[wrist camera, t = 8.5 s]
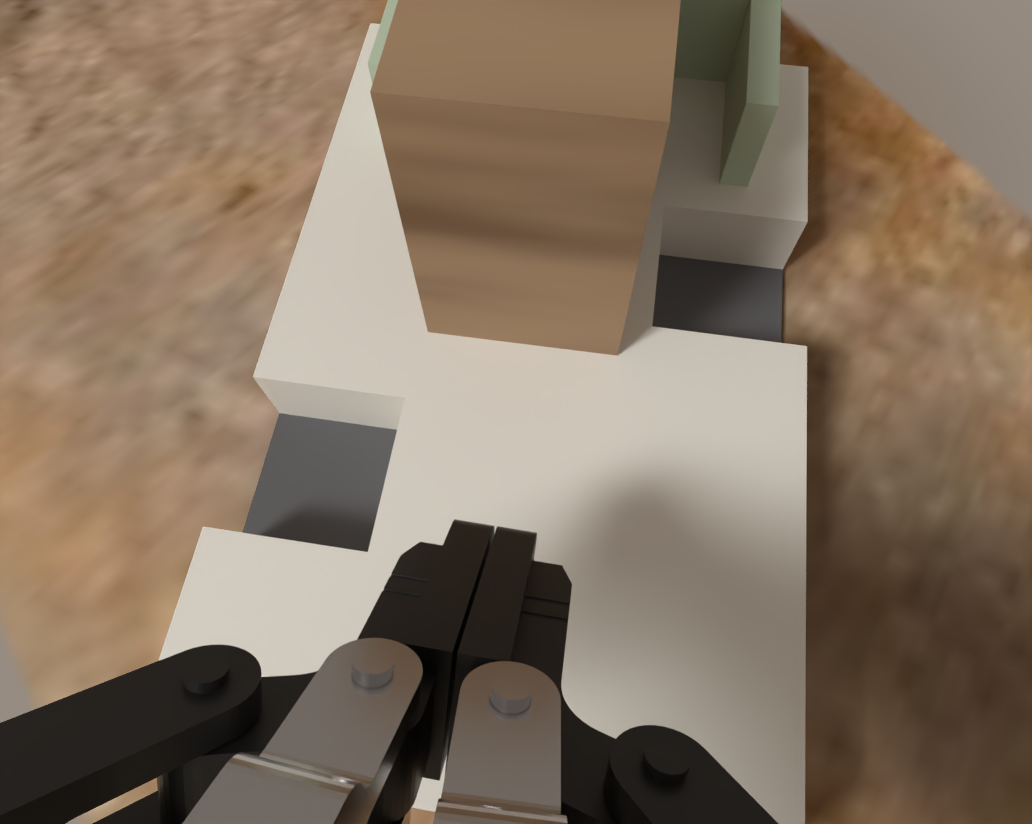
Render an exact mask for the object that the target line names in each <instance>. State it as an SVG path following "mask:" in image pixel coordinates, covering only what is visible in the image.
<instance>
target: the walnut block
mask: <svg viewBox="0 0 1032 824" xmlns="http://www.w3.org/2000/svg"><path fill="white" fill-rule="evenodd" d="M680 2H681V0H398V2H397V6H396V9H395V12H394V15H393V19H392V22H391V25H390V28H389V32H388V35H387V38H386V42H385V45H384V48H383V51H382V55H381V58H380V61H379V64H378V68H377V71H376V74H375V78H374V81H373V84H372V87H371V91H370V94H371V98H372V102H373V106H374V110H375V114H376V119H377V123H378V127H379V131H380V135H381V139H382V143H383V148H384V152H385V156H386V160H387V164H388V168H389V173H390V177H391V181H392V185H393V189H394V193H395V198H396V202H397V206H398V210H399V214H400V218H401V222H402V227H403V231H404V235H405V239H406V243H407V247H408V252H409V256H410V260H411V264H412V268H413V272H414V276H415V281H416V285H417V289H418V293H419V297H420V301H421V306H422V310H423V314H424V318H425V322H426V326H427V331H428V332H431V333H439V334H447V335H455V336H463V337H471V338H479V339H488V340H496V341H504V342H512V343H520V344H528V345H536V346H544V347H552V348H560V349H568V350H576V351H584V352H592V353H600V354H609V355H617V356H618V352H619V347H620V343H621V338H622V334H623V329H624V325H625V320H626V316H627V311H628V307H629V302H630V298H631V293H632V289H633V284H634V280H635V275H636V271H637V266H638V262H639V257H640V253H641V249H642V244H643V240H644V235H645V231H646V226H647V222H648V217H649V213H650V208H651V204H652V199H653V195H654V190H655V186H656V181H657V177H658V172H659V168H660V163H661V159H662V154H663V150H664V145H665V141H666V136H667V132H668V127H669V123H670V113H671V102H672V91H673V80H674V69H675V58H676V47H677V36H678V24H679V13H680Z"/></svg>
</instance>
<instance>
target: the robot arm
mask: <svg viewBox="0 0 1032 824" xmlns="http://www.w3.org/2000/svg"><path fill="white" fill-rule="evenodd" d="M494 532H495V534H494ZM536 540H537V533H536V532H530V531H524V530H518V529H512V528H505V527H499V526H497V528H496V531H495V527H494V526H492V525H486V524H480V523H474V522H468V521H462V520H456V519H455V520H454V521H453V523H452V525H451V527H450V529H449V532H448V534H447V536H446V539H445V541H444V543H443V545H437V544H431V543H425V542H419V543H418V544H416V545H415V546H413V547H412V548H410V549H409V550H407V551H406V552H405V553H403V554H402V555H401V556H400V558H399V559H398V561H397V563H396V565H395V567H394V569H393V571H392V574H391V576H390V577H389V579H388V581H387V583H386V585H385V587H384V590H383V591H382V592H381V594H380V596H379V598H378V600H377V602H376V604H375V606H374V608H373V610H372V612H371V614H370V616H369V617H368V619H367V621H366V623H365V625H364V627H363V629H362V631H361V633H360V635H359V637H358V639H357V640H355V641H351V642H348V643H346V644H344V645H342V646H340V647H338V648H337V649H335V650H334V651H333V652H332V653H331V654H330V655H329V656H328V657H327V658H326V660H325V661H324V663H323V664H322V666H321V667H320V668H319V670H318V671H316V672H312V673H307V674H300V675H287V676H270V677H261V667H260V664H259V662H258V660H257V659H256V658H255V657H254V656H253V655H252V654H251V653H249V652H248V651H246V650H244V649H241V648H239V647H235V646H230V645H221V644H220V645H205V646H199V647H195V648H191V649H188V650H185V651H183V652H180V653H178V654H175V655H172V656H170V657H167V658H165V659H162V660H160V661H157V662H155V663H152V664H150V665H147V666H144V667H142V668H139V669H137V670H134V671H132V672H129V673H127V674H124V675H122V676H119V677H116V678H114V679H111V680H109V681H106V682H104V683H101V684H99V685H96V686H94V687H91V688H88V689H86V690H83V691H81V692H78V693H76V694H73V695H71V696H68V697H66V698H63V699H60V700H58V701H55V702H53V703H50V704H48V705H45V706H43V707H40V708H37V709H35V710H32V711H30V712H27V713H25V714H22V715H20V716H17V717H15V718H12V719H10V720H7V721H4V722H2V723H0V824H65V823H67V822H68V821H70V820H72V819H74V818H75V817H77V816H80V815H82V814H84V813H86V812H88V811H90V810H92V809H94V808H96V807H98V806H100V805H102V804H104V803H106V802H108V801H110V800H112V799H114V798H116V797H118V796H120V795H122V794H124V793H126V792H128V791H130V790H132V789H134V788H136V787H138V786H140V785H142V784H144V783H146V782H149V781H151V780H153V779H155V778H157V785H158V791H156V792H154V793H152V794H150V795H148V796H146V797H144V798H142V799H140V800H138V801H136V802H134V803H133V804H131V805H129V806H127V807H125V808H123V809H121V810H119V811H117V812H115V813H113V814H111V815H109V816H107V817H105V818H103V819H101V820H99V821H97V822H95V823H93V824H410V819H411V807H412V806H413V804H414V802H415V800H416V797H417V794H418V790H419V787H420V784H421V781H422V777H423V778H428V779H433V780H439V781H440V778H441V774H442V770H443V767H444V763H445V760H446V768H445V778H444V784H443V789H442V795H441V798H439V799H438V802H437V807H436V811H435V817H434V822H433V824H778V823H777V822H776V821H775V820H774V819H773V818H772V816H771V815H770V814H769V813H768V812H767V811H766V810H765V809H764V808H763V807H762V806H761V805H760V804H759V803H758V802H757V801H756V800H755V799H754V798H753V797H752V796H751V795H750V794H749V793H748V792H747V791H746V790H745V789H744V788H743V787H742V786H741V785H740V784H739V783H738V782H737V781H736V780H735V779H734V778H733V777H732V776H731V775H730V774H729V773H728V772H727V771H726V770H725V769H724V768H723V767H722V766H721V765H720V764H719V763H718V761H717V760H716V759H715V758H714V757H713V756H712V755H711V754H710V753H709V752H708V751H707V750H706V749H705V748H704V747H702V746H701V745H700V744H699V743H698V742H697V741H695V740H694V739H692V738H691V737H689V736H687V735H685V734H684V733H682V732H679V731H677V730H674V729H671V728H667V727H664V726H657V725H643V726H637V727H633V728H630V729H628V730H626V731H624V732H623V733H621V734H620V735H619V736H618V737H617V738H616V739H615V738H613V737H611V736H609V735H607V734H604V733H602V732H600V731H598V730H596V729H594V728H592V727H590V726H589V725H588V724H586V723H585V722H583V721H582V720H581V719H580V718H578V717H577V716H576V715H575V714H574V713H573V711H572V710H571V709H570V708H569V706H568V705H567V703H566V701H565V699H564V697H563V694H562V689H561V681H562V672H563V662H564V653H565V644H566V635H567V626H568V617H569V608H570V599H571V590H572V583H571V581H570V579H569V577H568V575H567V574H566V572H565V570H564V568H563V566H562V565H557V564H551V563H545V562H539V561H534V555H535V548H536ZM446 756H447V758H446Z"/></svg>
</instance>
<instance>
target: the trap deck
mask: <svg viewBox="0 0 1032 824" xmlns="http://www.w3.org/2000/svg"><path fill="white" fill-rule="evenodd" d="M397 2H398V0H388V2H387V5H386V8H385V11H384V14H383V17H382V20H381V23H380V24H372V23H371V24H370V27H369V30H368V33H367V36H366V39H365V42H364V45H363V48H362V51H361V54H360V57H359V60H358V63H357V66H356V69H355V72H354V75H353V78H352V81H351V84H350V87H349V90H348V93H347V96H346V99H345V102H344V105H343V108H342V111H341V114H340V117H339V120H338V123H337V126H336V129H335V132H334V135H333V138H332V141H331V144H330V147H329V150H328V153H327V156H326V159H325V162H324V165H323V168H322V171H321V174H320V177H319V180H318V183H317V186H316V189H315V192H314V195H313V198H312V201H311V204H310V207H309V210H308V213H307V216H306V219H305V222H304V225H303V228H302V231H301V234H300V237H299V240H298V243H297V246H296V249H295V252H294V255H293V258H292V261H291V264H290V267H289V270H288V273H287V276H286V279H285V282H284V285H283V288H282V291H281V294H280V297H279V300H278V303H277V306H276V309H275V312H274V315H273V318H272V321H271V324H270V327H269V330H268V333H267V336H266V339H265V342H264V345H263V348H262V351H261V354H260V357H259V360H258V363H257V366H256V369H255V372H254V375H253V378H254V379H255V380H256V382H257V383H258V384H259V386H260V387H261V388H262V390H263V391H264V393H265V394H266V395H267V397H268V398H269V399H270V401H271V402H272V403H273V405H274V406H275V408H276V409H277V410H278V412H279V413H280V414H279V417H278V420H277V423H276V426H275V430H274V433H273V436H272V439H271V443H270V446H269V449H268V452H267V455H266V459H265V462H264V465H263V468H262V472H261V475H260V478H259V481H258V484H257V488H256V491H255V494H254V497H253V501H252V504H251V507H250V510H249V513H248V517H247V520H246V523H245V526H244V530H243V533H241V532H235V531H228V530H222V529H215V528H209V527H203V528H202V531H201V534H200V537H199V540H198V543H197V546H196V549H195V552H194V555H193V558H192V561H191V564H190V567H189V570H188V573H187V576H186V579H185V582H184V585H183V588H182V591H181V594H180V598H179V601H178V604H177V607H176V610H175V613H174V616H173V619H172V622H171V625H170V628H169V631H168V634H167V637H166V640H165V643H164V646H163V649H162V652H161V655H160V658H159V661H160V660H162V659H165V658H167V657H170V656H172V655H175V654H178V653H180V652H183V651H185V650H188V649H191V648H195V647H199V646H205V645H220V644H221V645H230V646H235V647H239V648H241V649H244V650H246V651H248V652H249V653H251V654H252V655H253V656H254V657H255V658H256V659H257V660H258V662H259V664H260V667H261V677H270V676H287V675H300V674H307V673H312V672H316V671H318V670H319V668H320V667H321V666H322V664H323V663H324V661H325V660H326V658H327V657H328V656H329V655H330V654H331V653H332V652H333V651H334V650H335V649H337V648H338V647H340V646H342V645H344V644H346V643H348V642H351V641H355V640H357V639H358V637H359V635H360V633H361V631H362V629H363V627H364V625H365V623H366V621H367V619H368V617H369V616H370V614H371V612H372V610H373V608H374V606H375V604H376V602H377V600H378V598H379V596H380V594H381V592H382V591H383V590H384V587H385V585H386V583H387V581H388V579H389V577H390V576H391V574H392V571H393V569H394V567H395V565H396V563H397V561H398V559H399V558H400V556H401V555H402V554H403V553H405V552H406V551H407V550H409V549H410V548H412V547H413V546H415V545H416V544H418V543H419V542H425V543H431V544H437V545H443V543H444V541H445V539H446V536H447V534H448V532H449V529H450V527H451V525H452V523H453V521H454V520H455V519H456V520H462V521H468V522H474V523H480V524H486V525H492V526H494V527H495V531H496V528H497V526H499V527H505V528H512V529H518V530H524V531H530V532H536V533H537V540H536V548H535V555H534V561H539V562H545V563H551V564H557V565H562V566H563V568H564V570H565V572H566V574H567V575H568V577H569V579H570V581H571V583H572V590H571V599H570V608H569V617H568V626H567V635H566V644H565V653H564V662H563V672H562V681H561V689H562V694H563V697H564V699H565V701H566V703H567V705H568V706H569V708H570V709H571V710H572V711H573V713H574V714H575V715H576V716H577V717H578V718H580V719H581V720H582V721H583V722H585V723H586V724H588V725H589V726H590V727H592V728H594V729H596V730H598V731H600V732H602V733H604V734H607V735H609V736H611V737H613V738H615V739H616V738H617V737H618V736H619V735H620V734H621V733H623V732H624V731H626V730H628V729H630V728H633V727H637V726H643V725H657V726H664V727H667V728H671V729H674V730H677V731H679V732H682V733H684V734H685V735H687V736H689V737H691V738H692V739H694V740H695V741H697V742H698V743H699V744H700V745H701V746H702V747H704V748H705V749H706V750H707V751H708V752H709V753H710V754H711V755H712V756H713V757H714V758H715V759H716V760H717V761H718V763H719V764H720V765H721V766H722V767H723V768H724V769H725V770H726V771H727V772H728V773H729V774H730V775H731V776H732V777H733V778H734V779H735V780H736V781H737V782H738V783H739V784H740V785H741V786H742V787H743V788H744V789H745V790H746V791H747V792H748V793H749V794H750V795H751V796H752V797H753V798H754V799H755V800H756V801H757V802H758V803H759V804H760V805H761V806H762V807H763V808H764V809H765V810H766V811H767V812H768V813H769V814H770V815H771V816H772V818H773V819H774V820H775V821H776V822H777V823H778V824H805V706H806V480H807V346H802V345H794V344H786V343H781V329H782V279H783V268H784V266H785V264H786V262H787V260H788V258H789V257H790V255H791V253H792V251H793V249H794V247H795V245H796V243H797V241H798V239H799V237H800V236H801V234H802V232H803V230H804V228H805V226H806V224H807V222H808V67H803V66H793V65H783V64H780V33H781V0H681V2H680V13H679V24H678V36H677V47H676V58H675V69H674V80H673V91H672V102H671V113H670V123H669V127H668V132H667V136H666V141H665V145H664V150H663V154H662V159H661V163H660V168H659V172H658V177H657V181H656V186H655V190H654V195H653V199H652V204H651V208H650V213H649V217H648V222H647V226H646V231H645V235H644V240H643V244H642V249H641V253H640V257H639V262H638V266H637V271H636V275H635V280H634V284H633V289H632V293H631V298H630V302H629V307H628V311H627V316H626V320H625V325H624V329H623V334H622V338H621V343H620V347H619V352H618V356H617V355H609V354H600V353H592V352H584V351H576V350H568V349H560V348H552V347H544V346H536V345H528V344H520V343H512V342H504V341H496V340H488V339H479V338H471V337H463V336H455V335H447V334H439V333H431V332H428V331H427V326H426V322H425V318H424V314H423V310H422V306H421V301H420V297H419V293H418V289H417V285H416V281H415V276H414V272H413V268H412V264H411V260H410V256H409V252H408V247H407V243H406V239H405V235H404V231H403V227H402V222H401V218H400V214H399V210H398V206H397V202H396V198H395V193H394V189H393V185H392V181H391V177H390V173H389V168H388V164H387V160H386V156H385V152H384V148H383V143H382V139H381V135H380V131H379V127H378V123H377V119H376V114H375V110H374V106H373V102H372V98H371V94H370V91H371V87H372V84H373V81H374V78H375V74H376V71H377V68H378V64H379V61H380V58H381V55H382V51H383V48H384V45H385V42H386V38H387V35H388V32H389V28H390V25H391V22H392V19H393V15H394V12H395V9H396V6H397ZM494 534H495V532H494ZM446 758H447V756H446ZM445 768H446V760H445V763H444V767H443V770H442V774H441V778H440V781H439V780H433V779H428V778H423V777H422V781H421V784H420V787H419V790H418V794H417V797H416V800H415V802H414V804H413V806H412V808H418V809H423V810H429V811H434V812H435V811H436V807H437V802H438V799H439V798H441V795H442V789H443V784H444V778H445Z"/></svg>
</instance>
